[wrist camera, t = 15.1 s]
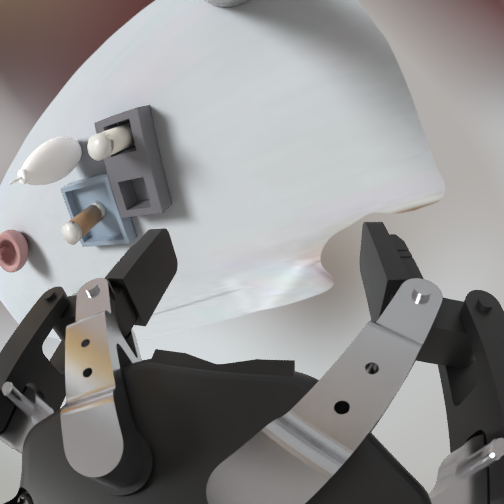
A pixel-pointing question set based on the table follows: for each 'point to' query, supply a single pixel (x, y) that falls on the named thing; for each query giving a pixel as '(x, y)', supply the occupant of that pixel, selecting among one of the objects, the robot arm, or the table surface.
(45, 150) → the sauce bottle
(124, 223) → the parts tray
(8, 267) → the mortar and pestle
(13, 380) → the robot arm
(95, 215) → the cylinder
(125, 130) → the cylinder
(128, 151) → the block
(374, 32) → the table surface
